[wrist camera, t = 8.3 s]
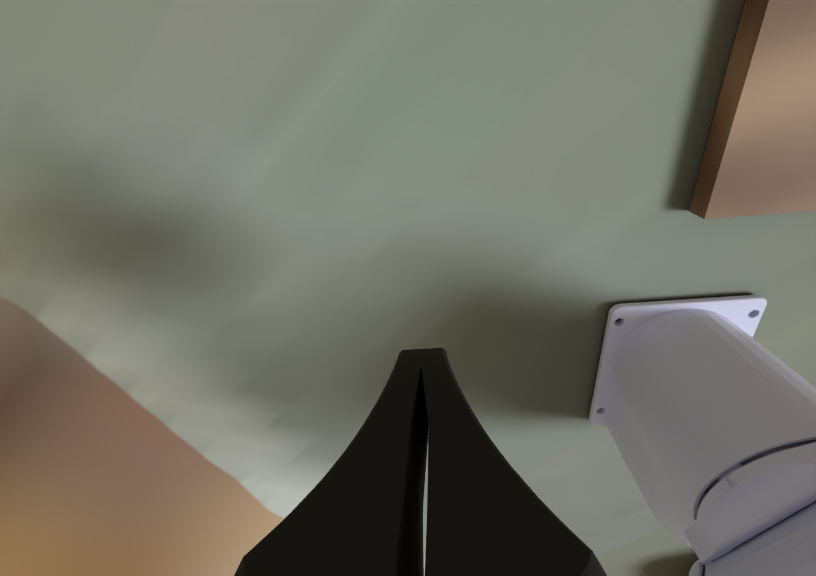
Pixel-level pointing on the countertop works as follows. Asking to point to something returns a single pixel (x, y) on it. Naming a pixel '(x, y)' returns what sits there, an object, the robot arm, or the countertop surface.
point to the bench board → (764, 117)
